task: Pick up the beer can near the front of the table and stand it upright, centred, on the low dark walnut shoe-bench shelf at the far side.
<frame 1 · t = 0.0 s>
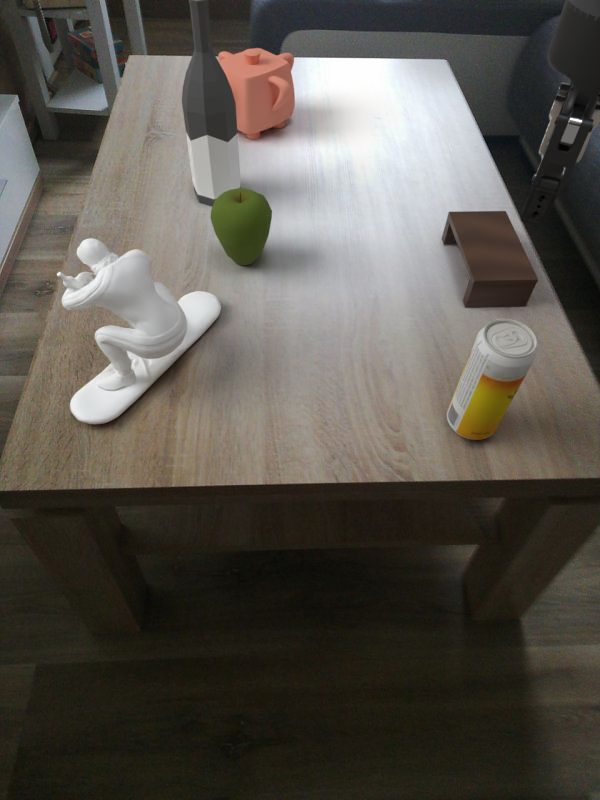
hand: (539, 198, 53), 25 cm above the table, tool pointing down, fingers open, 8 cm apart
shelf: (481, 270, 85), on the table
teapot: (251, 126, 110), on the table
beer can: (469, 423, 68), on the table
apple: (244, 260, 86), on the table
figurine: (153, 359, 73), on the table
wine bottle: (217, 194, 96), on the table
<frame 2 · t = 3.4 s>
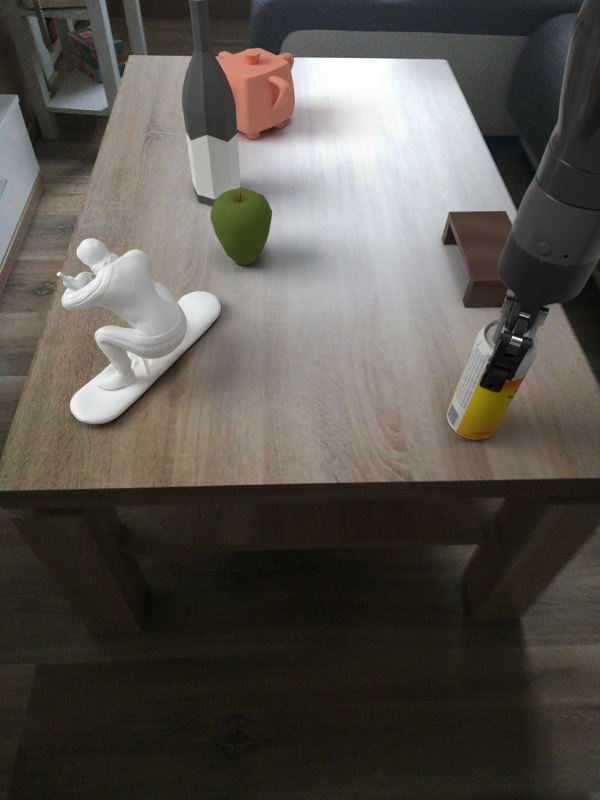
hand: (496, 365, 60), 11 cm above the table, tool pointing down, fingers closed on beer can, 6 cm apart
beer can: (469, 423, 68), on the table, touching gripper
everything else where it was.
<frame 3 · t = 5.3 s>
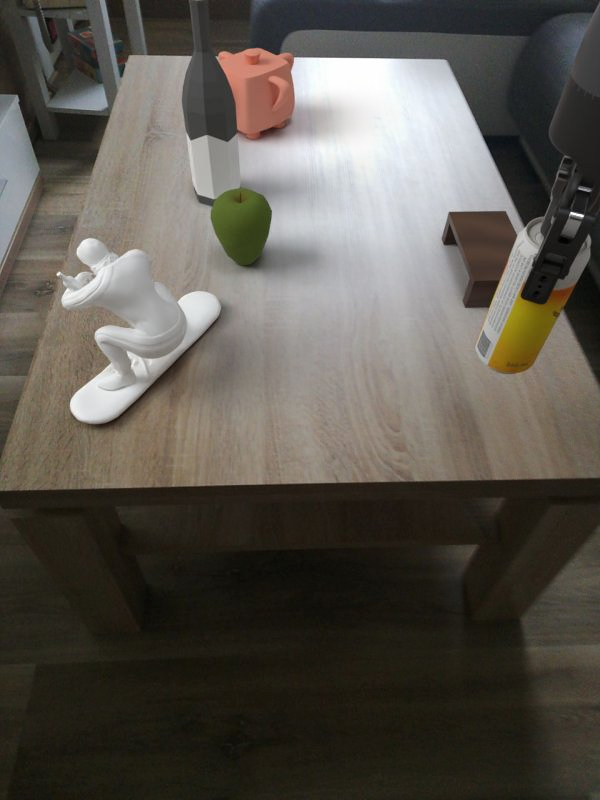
hand: (539, 275, 50), 23 cm above the table, tool pointing down, fingers closed on beer can, 6 cm apart
beer can: (502, 357, 58), point 12 cm above the table, touching gripper
everything else where it was.
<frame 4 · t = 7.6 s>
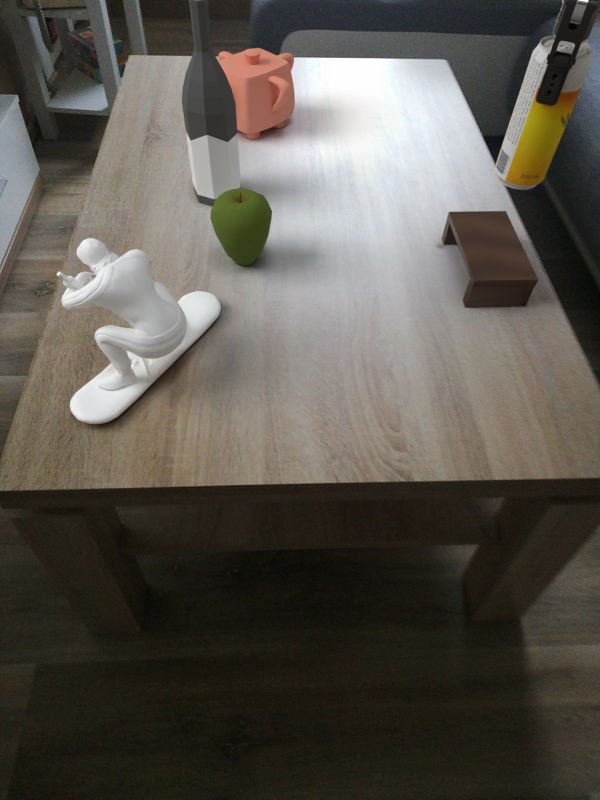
hand: (550, 89, 61), 28 cm above the table, tool pointing down, fingers closed on beer can, 6 cm apart
beer can: (516, 179, 70), point 17 cm above the table, touching gripper
everything else where it was.
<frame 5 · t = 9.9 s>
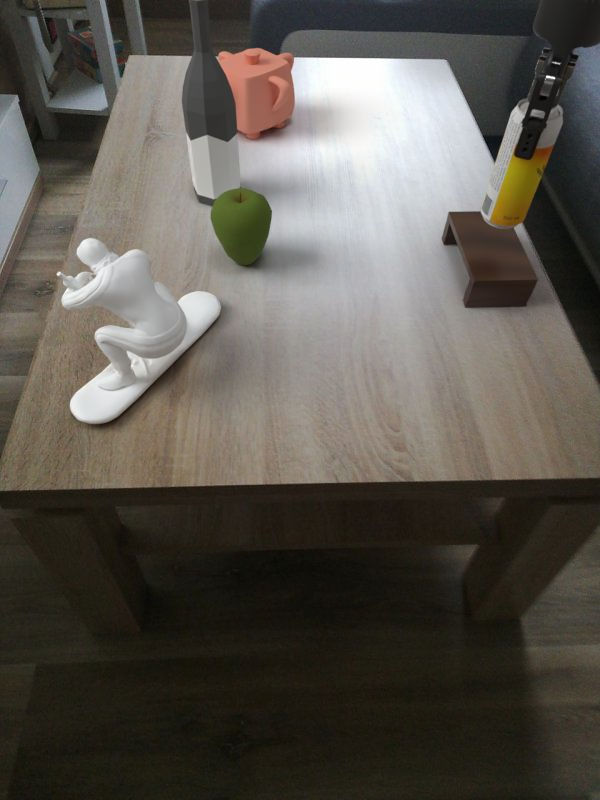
hand: (527, 144, 69), 20 cm above the table, tool pointing down, fingers closed on beer can, 6 cm apart
beer can: (500, 219, 78), point 9 cm above the table, touching gripper
everything else where it was.
when the fingers open (16 cm above the table, at t = 11.8 s): beer can stays where it is, resting on shelf.
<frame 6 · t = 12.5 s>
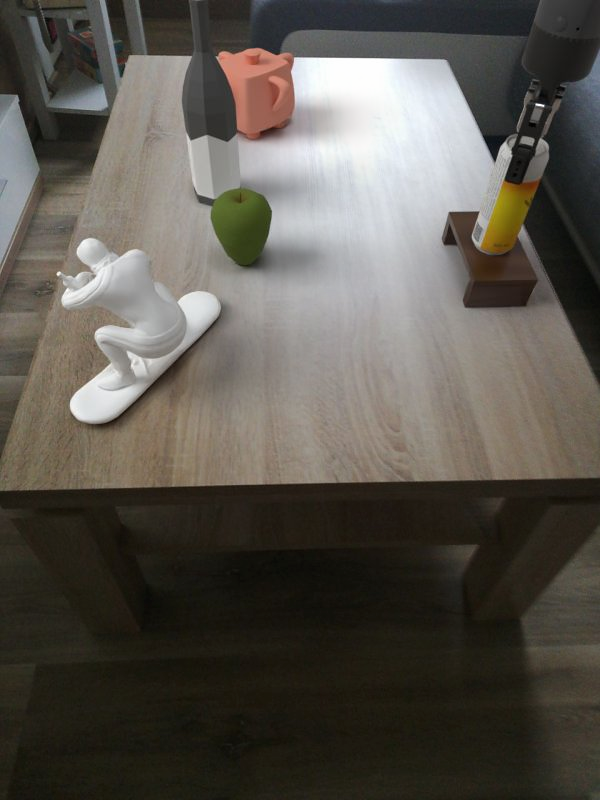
hand: (519, 165, 72), 17 cm above the table, tool pointing down, fingers open, 8 cm apart
beer can: (490, 245, 81), point 5 cm above the table, touching shelf
everything else where it was.
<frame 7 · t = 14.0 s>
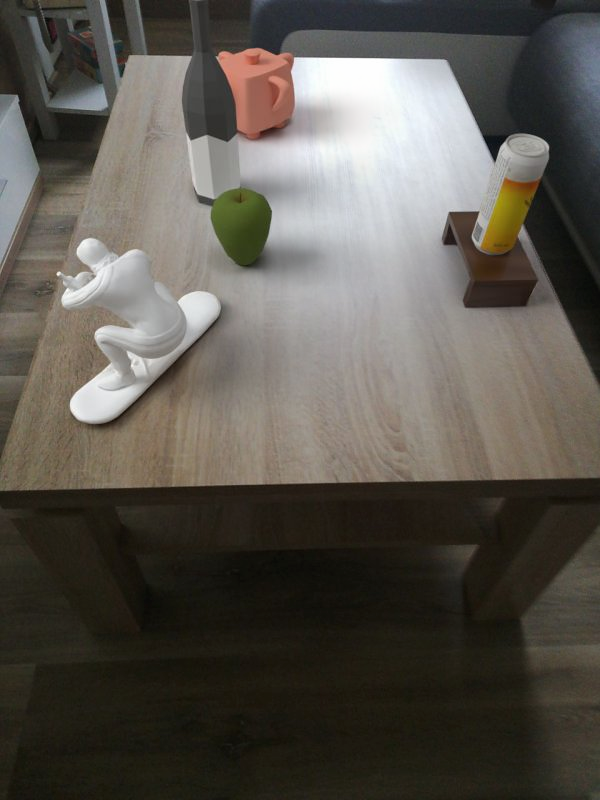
nothing on the table moved.
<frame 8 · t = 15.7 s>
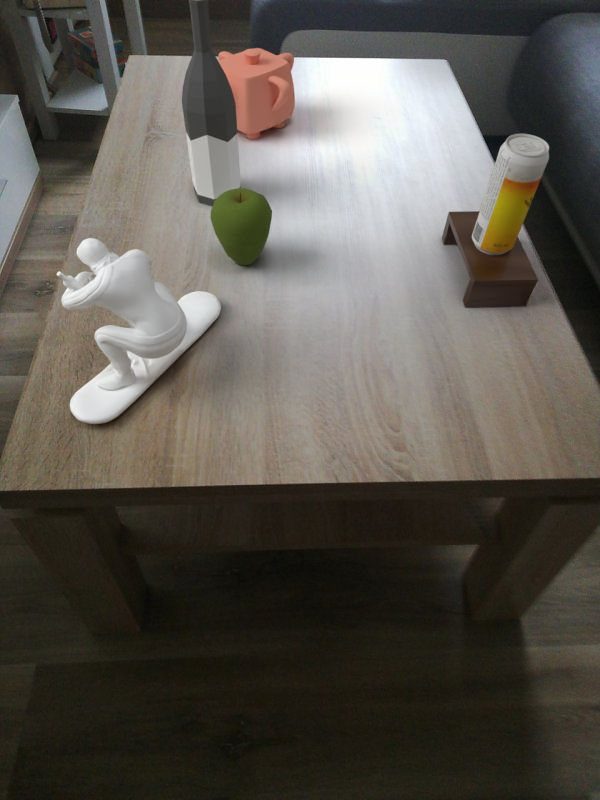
nothing on the table moved.
at the end: beer can 0.2 cm off-centre on the shelf, point 4.8 cm above the shelf's base; beer can tilted 0°; the gripper is holding nothing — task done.
